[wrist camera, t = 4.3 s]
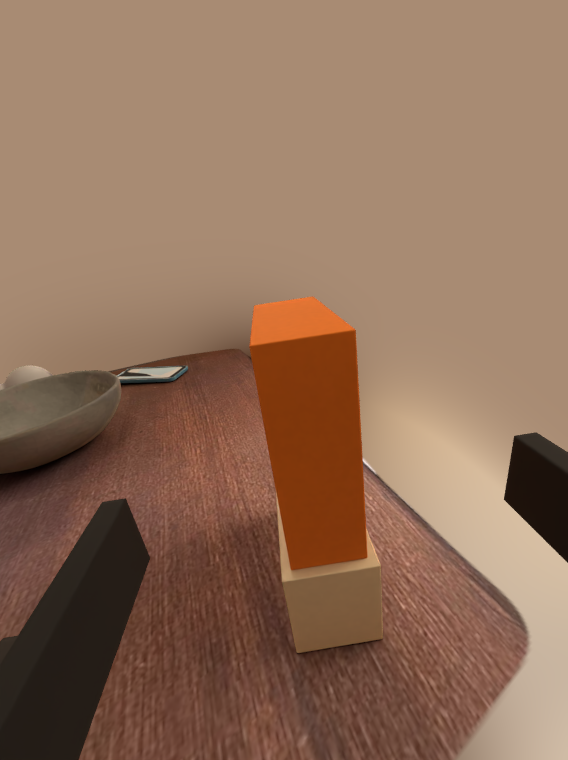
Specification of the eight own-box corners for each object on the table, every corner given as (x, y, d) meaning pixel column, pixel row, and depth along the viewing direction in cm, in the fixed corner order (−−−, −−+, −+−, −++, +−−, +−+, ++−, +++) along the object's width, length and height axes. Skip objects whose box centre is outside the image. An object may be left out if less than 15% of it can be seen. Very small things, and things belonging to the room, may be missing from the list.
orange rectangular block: (368, 558, 16) (355, 329, 12) (290, 571, 16) (249, 345, 12) (328, 447, 25) (313, 296, 21) (279, 455, 25) (253, 305, 21)
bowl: (105, 402, 58) (88, 361, 55) (160, 433, 44) (142, 381, 41) (-53, 466, 44) (-86, 415, 41) (-44, 539, 30) (-93, 472, 27)
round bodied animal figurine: (-11, 419, 58) (-35, 377, 55) (64, 397, 64) (47, 357, 61) (-19, 434, 52) (-46, 387, 49) (65, 408, 58) (45, 365, 55)
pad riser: (383, 639, 18) (381, 565, 16) (296, 654, 18) (281, 582, 16) (338, 500, 28) (333, 443, 26) (283, 508, 28) (273, 453, 26)
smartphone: (172, 378, 63) (107, 380, 66) (173, 383, 63) (109, 385, 66) (189, 365, 69) (129, 368, 73) (190, 369, 70) (130, 371, 73)
